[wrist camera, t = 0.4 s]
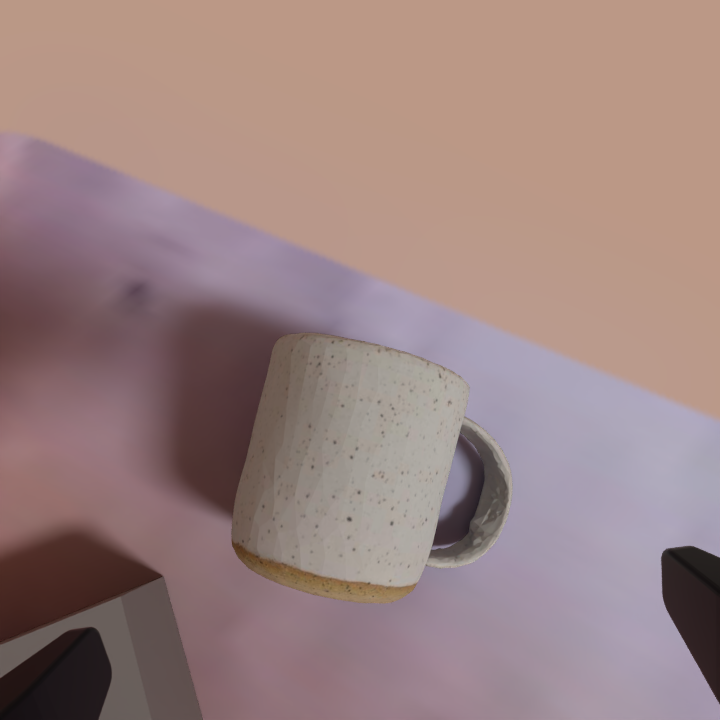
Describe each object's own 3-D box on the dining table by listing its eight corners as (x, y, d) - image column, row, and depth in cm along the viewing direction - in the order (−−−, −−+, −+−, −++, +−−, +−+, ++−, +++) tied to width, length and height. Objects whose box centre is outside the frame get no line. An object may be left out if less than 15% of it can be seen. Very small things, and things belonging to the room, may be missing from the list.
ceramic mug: (242, 543, 22) (187, 575, 14) (289, 362, 24) (263, 306, 16) (485, 600, 21) (559, 663, 14) (513, 412, 23) (591, 378, 16)
